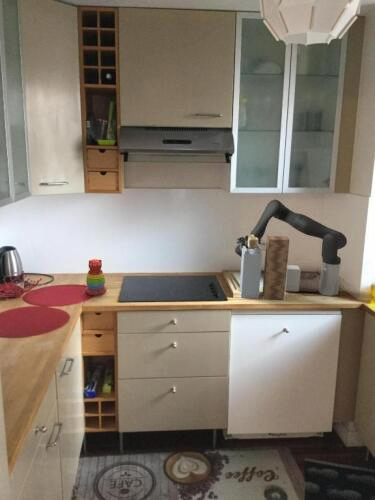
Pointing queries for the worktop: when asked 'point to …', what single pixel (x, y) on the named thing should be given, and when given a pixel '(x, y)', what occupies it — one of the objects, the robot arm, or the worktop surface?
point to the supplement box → (292, 278)
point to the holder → (250, 272)
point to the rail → (252, 241)
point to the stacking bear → (95, 278)
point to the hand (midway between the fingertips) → (251, 237)
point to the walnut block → (275, 267)
